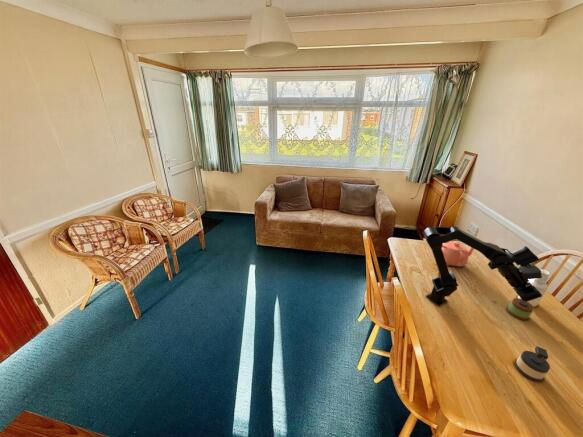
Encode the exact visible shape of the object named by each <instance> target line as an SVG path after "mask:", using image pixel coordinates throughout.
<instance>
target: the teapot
mask: <svg viewBox="0 0 583 437" xmlns="http://www.w3.org/2000/svg"><path fill="white" fill-rule="evenodd" d="M474 250H475V249H474V248H472V247H470V246H469V248H467V247H466V246H465V244H464V243H462V242H461V241H455V240H451V241H449V242H447V243H443V245H442V251H443V254H444V258H445V261H446V264H447V267H450V266H455V267H458V268H462V267H463V266H465V265H467V264H468V262H469V257H470V256H471V255H472V254H473V252H474Z"/></svg>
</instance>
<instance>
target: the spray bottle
mask: <svg viewBox="0 0 583 437" xmlns="http://www.w3.org/2000/svg"><path fill="white" fill-rule="evenodd" d="M539 269H540V270H541V274H542V278H536V279H528V280H529V283H530V284H531V285H532V286H534V287H535V288H536V289H537V290H538V291H539V292H540V293H541V294H542V297H539V298H536V299H533V300H530V301H527V302H529V303H530V304H531V305H532V306H533V307H537V306H538V304H539V303H540V301H541V300H542V298H543V297H544V295H545V293H546V292H547V290H548V287H549V286H548V285H547V281H548V279H549V276H550V274H551V272H550V271H548V270H546V269H542V268H539ZM517 298H519V299H521V298H520V296H519V295H517Z"/></svg>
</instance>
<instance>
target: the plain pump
mask: <svg viewBox="0 0 583 437" xmlns="http://www.w3.org/2000/svg"><path fill="white" fill-rule="evenodd" d="M534 351H535V352H534V353H536V356H537V357H538V358H541V359H542V362H543V363H546V361H547V360H548V358H549V354H548V351H547V349H545V348H543V347H541V346H538V345H536V346H535V347H534ZM545 360H546V361H545Z"/></svg>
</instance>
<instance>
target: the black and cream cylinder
mask: <svg viewBox="0 0 583 437" xmlns="http://www.w3.org/2000/svg"><path fill="white" fill-rule="evenodd" d="M545 361H546V363H543V362H542V359H541V358H538V357H537V356H536V352H534V351H531V350H524V351H522V352H521V353H520V355H519V356H518V358H517V360H516V362H515V364H514V366H515V368H516V370H517V371H518V372H519V373H520V374H521V375H522V376H523V377H525V378H527V379H529V380H531V381H534V382H540V381H542V380H543V379H544V377H545V376H546V375H547V374H548V373H549V371H550V370H551V366H550V363H549V361H547V360H545Z"/></svg>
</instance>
